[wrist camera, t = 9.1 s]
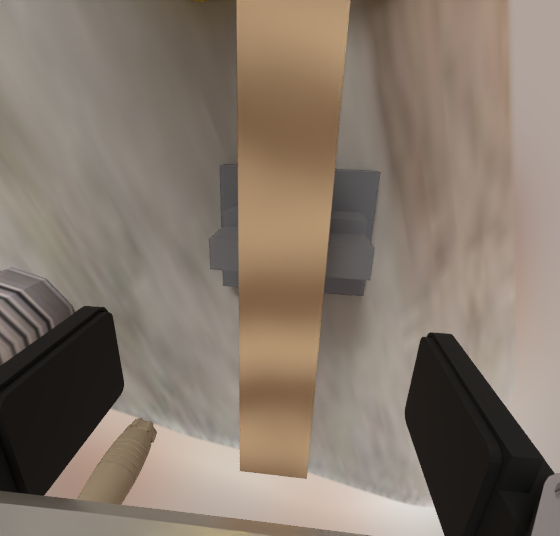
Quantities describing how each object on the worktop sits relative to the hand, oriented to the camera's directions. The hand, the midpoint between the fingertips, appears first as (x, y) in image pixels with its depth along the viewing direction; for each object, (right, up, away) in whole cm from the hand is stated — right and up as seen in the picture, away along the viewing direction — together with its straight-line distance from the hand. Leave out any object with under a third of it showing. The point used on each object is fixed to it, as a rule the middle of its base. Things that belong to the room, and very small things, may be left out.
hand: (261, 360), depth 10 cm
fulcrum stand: (+2, +6, +18) cm, 19 cm away
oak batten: (+1, +3, +10) cm, 11 cm away
